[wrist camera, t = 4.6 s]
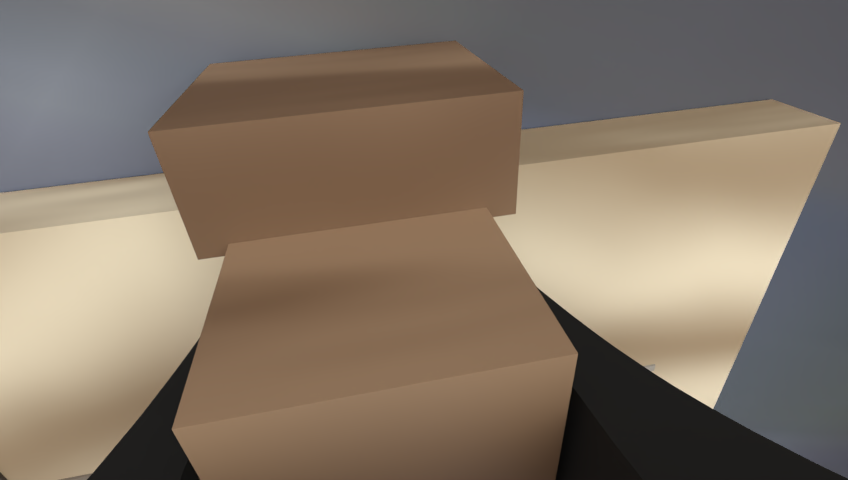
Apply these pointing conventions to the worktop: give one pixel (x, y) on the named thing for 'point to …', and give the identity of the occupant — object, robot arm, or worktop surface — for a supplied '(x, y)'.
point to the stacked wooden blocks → (362, 272)
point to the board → (525, 231)
